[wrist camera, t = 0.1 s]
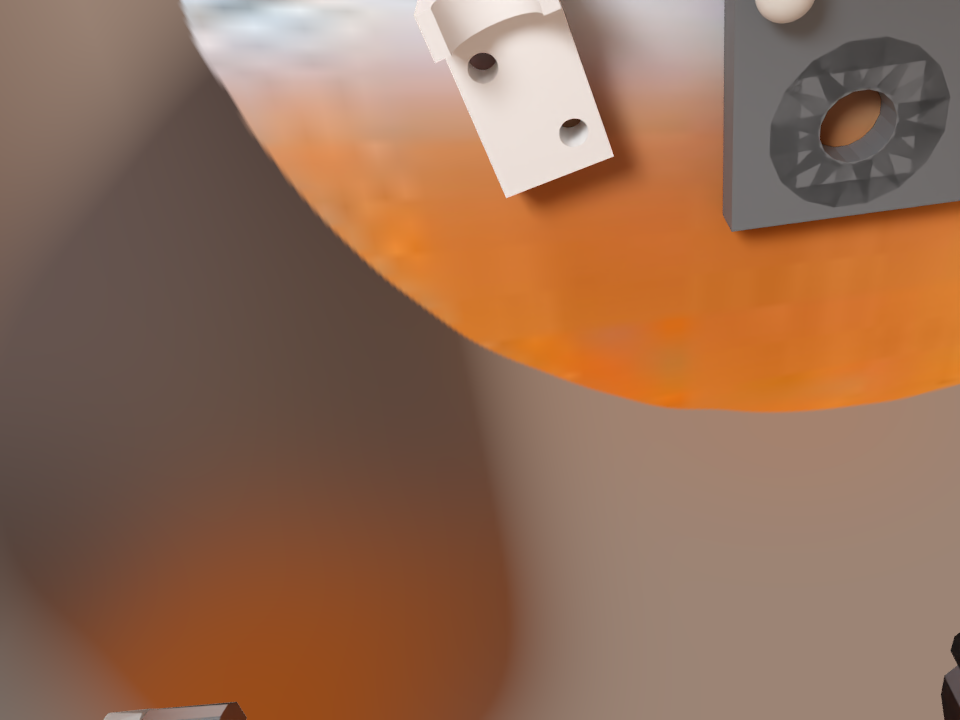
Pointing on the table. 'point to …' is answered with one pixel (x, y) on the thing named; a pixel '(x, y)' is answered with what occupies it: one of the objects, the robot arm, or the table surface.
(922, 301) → the table surface
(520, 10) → the bracket
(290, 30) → the table surface
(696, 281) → the table surface
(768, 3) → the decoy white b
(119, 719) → the robot arm
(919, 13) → the board
